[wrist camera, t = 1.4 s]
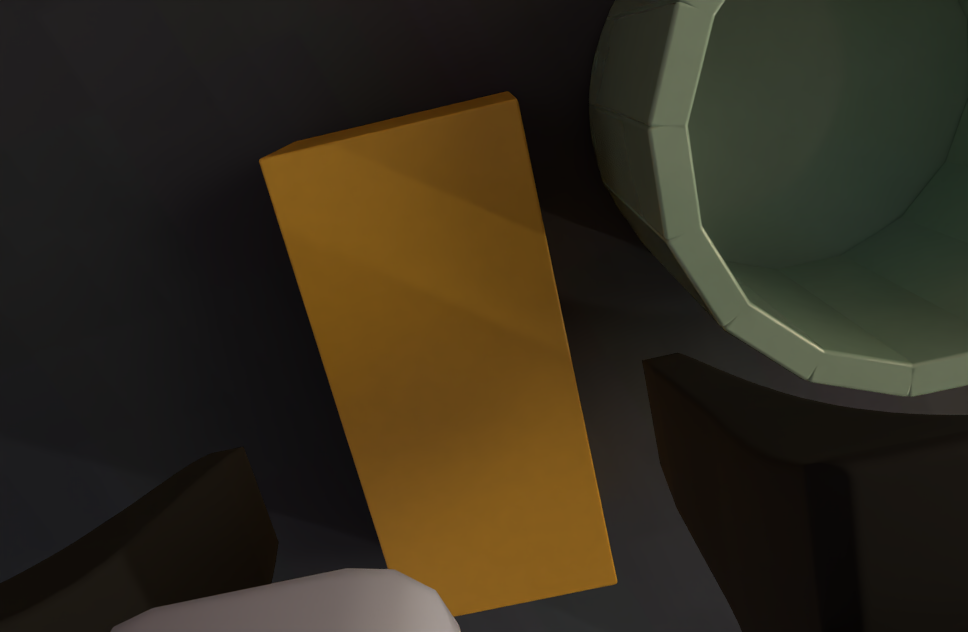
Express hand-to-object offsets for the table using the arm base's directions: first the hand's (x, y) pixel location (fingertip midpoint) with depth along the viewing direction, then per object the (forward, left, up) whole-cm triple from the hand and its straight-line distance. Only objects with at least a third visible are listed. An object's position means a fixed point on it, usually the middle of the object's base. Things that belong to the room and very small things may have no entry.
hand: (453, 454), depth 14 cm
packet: (0, 0, -6) cm, 6 cm away
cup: (+8, +4, -6) cm, 11 cm away
